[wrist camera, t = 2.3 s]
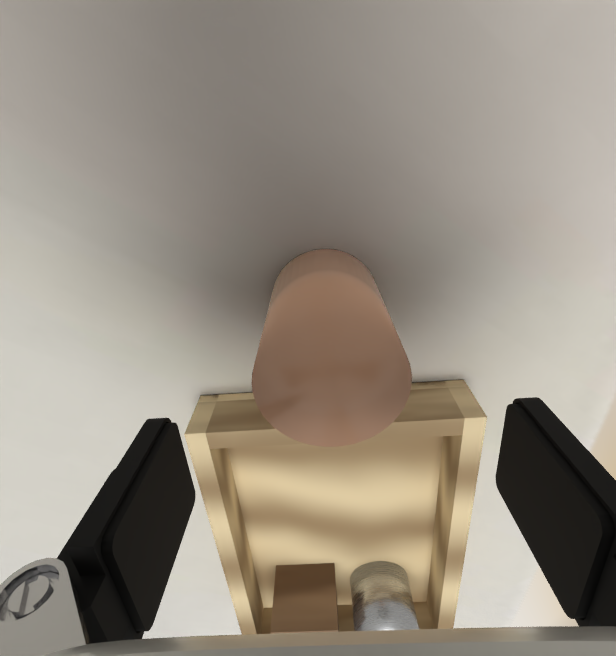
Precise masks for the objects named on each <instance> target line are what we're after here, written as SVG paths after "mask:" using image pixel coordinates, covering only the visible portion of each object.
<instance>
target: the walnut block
mask: <svg viewBox="0 0 616 656" xmlns="http://www.w3.org/2000/svg"><path fill="white" fill-rule="evenodd" d="M309 632H339V623H338V605H337V590H336V577H335V564H334V563H320V564H296V565H276V570H275V583H274V595H273V607H272V619H271V631H270V633H271V634H278V633H309Z"/></svg>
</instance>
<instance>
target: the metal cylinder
mask: <svg viewBox="0 0 616 656" xmlns="http://www.w3.org/2000/svg"><path fill="white" fill-rule="evenodd" d="M350 585H351V597H352V608H353V620H354V631H379V630H415V629H419V627H418V622H417V617H416V613H415V608H414V604H413V599H412V594H411V590H410V585H409V581H408V576H407V573H406V571H405V570H404V569H403V568H402V567H401V566H400V565H398V564H395V563H392V562H387V561H374V562H369V563H366V564H363V565H361V566H359V567H358V568H356V569H355V570H354V571H353V572H352V574H351V577H350Z"/></svg>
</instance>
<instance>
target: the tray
mask: <svg viewBox="0 0 616 656" xmlns="http://www.w3.org/2000/svg"><path fill="white" fill-rule="evenodd" d="M486 420H487V416H486V415H485V413H484V411H483V410H482V408H481V407H480V405H479V403H478V402H477V400H476V399H475V397H474V395H473V394H472V392H471V390H470V389H469V387H468V386H467V384H466V382H465V381H464V380H450V381H434V382H417V383H412V384H411V391H410V394H409V398H408V400H407V403H406V405H405V407H404V408H403V410H402V412H401V413H400V415H399V416H398V417H397V418H396V419H395V420H394V422H392V423H391V424H390V425H389V426H388V427H387V428H386V429H384V430H383V431H381V432H380V433H378V434H377V435H375V436H373V437H371V438H369V439H366V440H364V441H361V442H358V443H355V444H351V445H346V446H337V447H323V446H315V445H309V444H305V443H302V442H299V441H296V440H294V439H292V438H289V437H288V436H286V435H284V434H282V433H281V432H279V431H278V430H277V429H275V428H274V427H273V426H272V425H271V424H270V423H269V422H268V421H267V420H266V419H265V417H264V416H263V415H262V413H261V412H260V410H259V408H258V406H257V404H256V402H255V399H254V395H253V393H236V394H220V395H203V396H200V398H199V401H198V403H197V406H196V408H195V410H194V413H193V415H192V417H191V420H190V422H189V424H188V427H187V429H186V432H185V434H184V435H185V438H186V442H187V445H188V449H189V452H190V455H191V459H192V462H193V466H194V469H195V473H196V476H197V480H198V483H199V487H200V490H201V494H202V497H203V501H204V504H205V508H206V511H207V515H208V518H209V521H210V525H211V528H212V532H213V535H214V539H215V542H216V546H217V549H218V553H219V556H220V560H221V563H222V567H223V570H224V574H225V577H226V581H227V584H228V588H229V591H230V594H231V598H232V601H233V605H234V608H235V612H236V615H237V619H238V622H239V626H240V629H241V633H242V635H248V634H271V633H270V631H271V619H272V607H273V595H274V583H275V570H276V565H296V564H320V563H334V564H335V577H336V590H337V605H338V623H339V632H343V631H354V620H353V608H352V597H351V585H350V577H351V574H352V572H353V571H354V570H355V569H356V568H358V567H359V566H361V565H363V564H366V563H369V562H374V561H387V562H392V563H395V564H398V565H400V566H401V567H402V568H403V569H404V570H405V571H406V573H407V576H408V581H409V585H410V590H411V594H412V599H413V604H414V608H415V613H416V617H417V622H418V627H419V629H453V625H454V619H455V613H456V607H457V601H458V594H459V588H460V582H461V576H462V570H463V563H464V557H465V551H466V545H467V538H468V532H469V526H470V520H471V514H472V507H473V501H474V495H475V489H476V482H477V476H478V470H479V464H480V458H481V451H482V445H483V439H484V433H485V426H486Z"/></svg>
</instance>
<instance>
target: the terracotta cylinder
mask: <svg viewBox="0 0 616 656" xmlns="http://www.w3.org/2000/svg"><path fill="white" fill-rule="evenodd" d="M411 384H412V374H411V368H410V363H409V361H408V358H407V355H406V353H405V351H404V348H403V346H402V344H401V341H400V339H399V337H398V334H397V332H396V330H395V327H394V325H393V323H392V320H391V318H390V316H389V313H388V311H387V309H386V306H385V304H384V302H383V299H382V297H381V295H380V292H379V290H378V288H377V285H376V283H375V281H374V278H373V276H372V275H371V273H370V271H369V270H368V269H367V267H366V266H365V265H364V264H363V263H362V262H361V261H359V260H358V259H357V258H355V257H354V256H352V255H350V254H348V253H345V252H343V251H339V250H334V249H318V250H312V251H309V252H306V253H303V254H301V255H299V256H297V257H296V258H294V259H293V260H291V261H290V262H289V263H288V264H287V265H286V266H285V267H284V268H283V269H282V271H281V272H280V273H279V275H278V277H277V279H276V281H275V284H274V287H273V291H272V296H271V300H270V304H269V308H268V312H267V316H266V320H265V324H264V328H263V332H262V336H261V340H260V344H259V348H258V352H257V356H256V360H255V364H254V369H253V373H252V391H253V395H254V399H255V402H256V404H257V406H258V408H259V410H260V412H261V413H262V415H263V416H264V417H265V419H266V420H267V421H268V422H269V423H270V424H271V425H272V426H273V427H274V428H275V429H277V430H278V431H279V432H281V433H282V434H284V435H286V436H288V437H289V438H292V439H294V440H296V441H299V442H302V443H305V444H309V445H315V446H323V447H337V446H346V445H351V444H355V443H358V442H361V441H364V440H366V439H369V438H371V437H373V436H375V435H377V434H378V433H380V432H381V431H383V430H384V429H386V428H387V427H388V426H389V425H390V424H391V423H392V422H394V420H395V419H396V418H397V417H398V416H399V415H400V413H401V412H402V410H403V408H404V407H405V405H406V403H407V400H408V398H409V394H410V391H411Z"/></svg>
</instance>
